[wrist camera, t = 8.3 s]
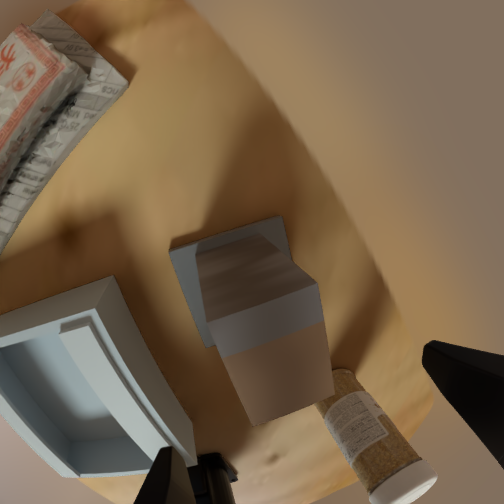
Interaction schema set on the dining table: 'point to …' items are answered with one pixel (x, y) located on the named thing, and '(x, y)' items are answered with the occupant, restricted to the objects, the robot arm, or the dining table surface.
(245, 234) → the coaster
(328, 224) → the dining table surface
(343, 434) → the sprinkles bottle
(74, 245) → the dining table surface
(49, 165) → the packaged product
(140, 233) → the dining table surface
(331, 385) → the block
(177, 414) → the grey open tray
